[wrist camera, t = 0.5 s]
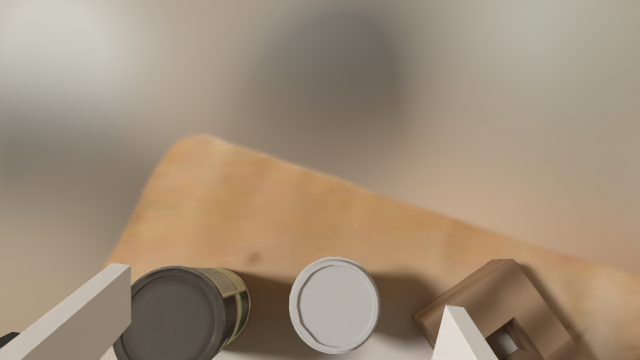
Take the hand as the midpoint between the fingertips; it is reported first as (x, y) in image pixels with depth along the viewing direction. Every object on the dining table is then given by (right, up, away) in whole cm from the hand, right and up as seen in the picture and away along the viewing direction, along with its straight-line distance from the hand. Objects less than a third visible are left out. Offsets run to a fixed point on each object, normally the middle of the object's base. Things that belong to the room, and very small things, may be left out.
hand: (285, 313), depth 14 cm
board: (+24, -16, +30) cm, 41 cm away
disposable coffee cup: (+3, -10, +31) cm, 33 cm away
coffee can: (-13, -11, +30) cm, 35 cm away
